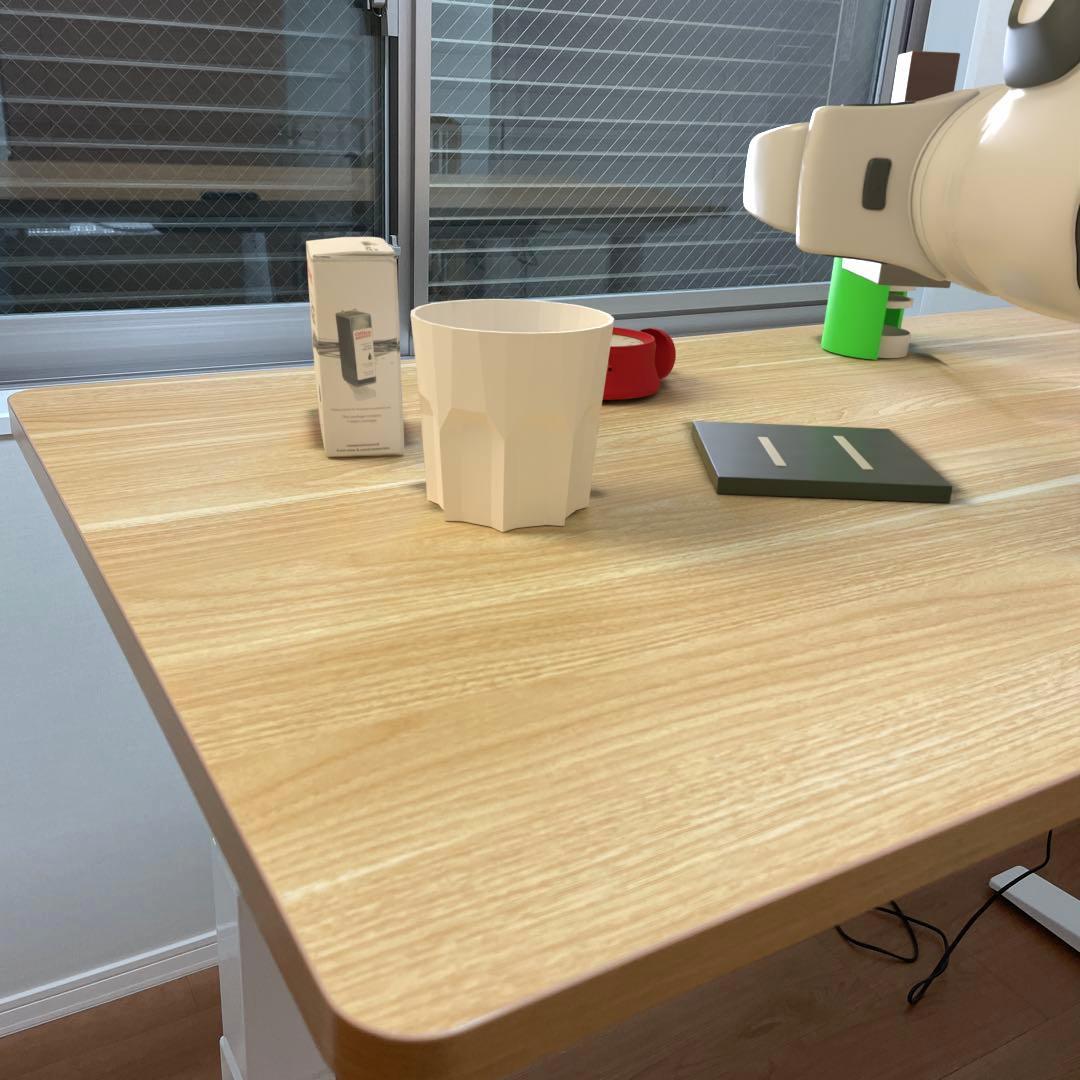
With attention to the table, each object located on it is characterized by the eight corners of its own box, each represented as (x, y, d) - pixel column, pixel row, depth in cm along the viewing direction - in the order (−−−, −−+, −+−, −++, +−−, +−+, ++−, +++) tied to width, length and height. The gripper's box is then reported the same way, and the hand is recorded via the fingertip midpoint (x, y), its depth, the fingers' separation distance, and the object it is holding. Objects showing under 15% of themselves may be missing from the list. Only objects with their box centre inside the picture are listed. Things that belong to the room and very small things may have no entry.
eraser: (841, 268, 64) (871, 57, 60) (905, 271, 64) (940, 60, 60) (878, 285, 57) (915, 45, 53) (950, 288, 57) (994, 49, 53)
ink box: (313, 421, 68) (304, 235, 64) (389, 419, 69) (386, 236, 65) (320, 460, 60) (311, 251, 56) (406, 457, 62) (404, 252, 57)
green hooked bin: (909, 363, 94) (945, 153, 87) (819, 355, 96) (847, 149, 89) (905, 345, 102) (937, 152, 96) (821, 338, 104) (848, 148, 98)
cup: (375, 515, 52) (371, 318, 49) (468, 464, 61) (470, 293, 57) (556, 551, 48) (566, 341, 45) (628, 492, 57) (641, 311, 53)
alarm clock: (496, 346, 75) (577, 278, 86) (503, 423, 79) (579, 348, 90) (630, 363, 71) (696, 290, 83) (631, 443, 75) (694, 362, 86)
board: (886, 443, 68) (889, 428, 68) (950, 503, 57) (953, 485, 57) (691, 435, 68) (692, 420, 68) (716, 493, 57) (718, 476, 57)
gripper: (1247, 124, 45) (1095, 127, 58) (784, 103, 46) (735, 111, 58) (1208, 270, 48) (1070, 242, 61) (767, 251, 48) (723, 227, 61)
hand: (903, 178), depth 60 cm, fingers closed on eraser, 2 cm apart
